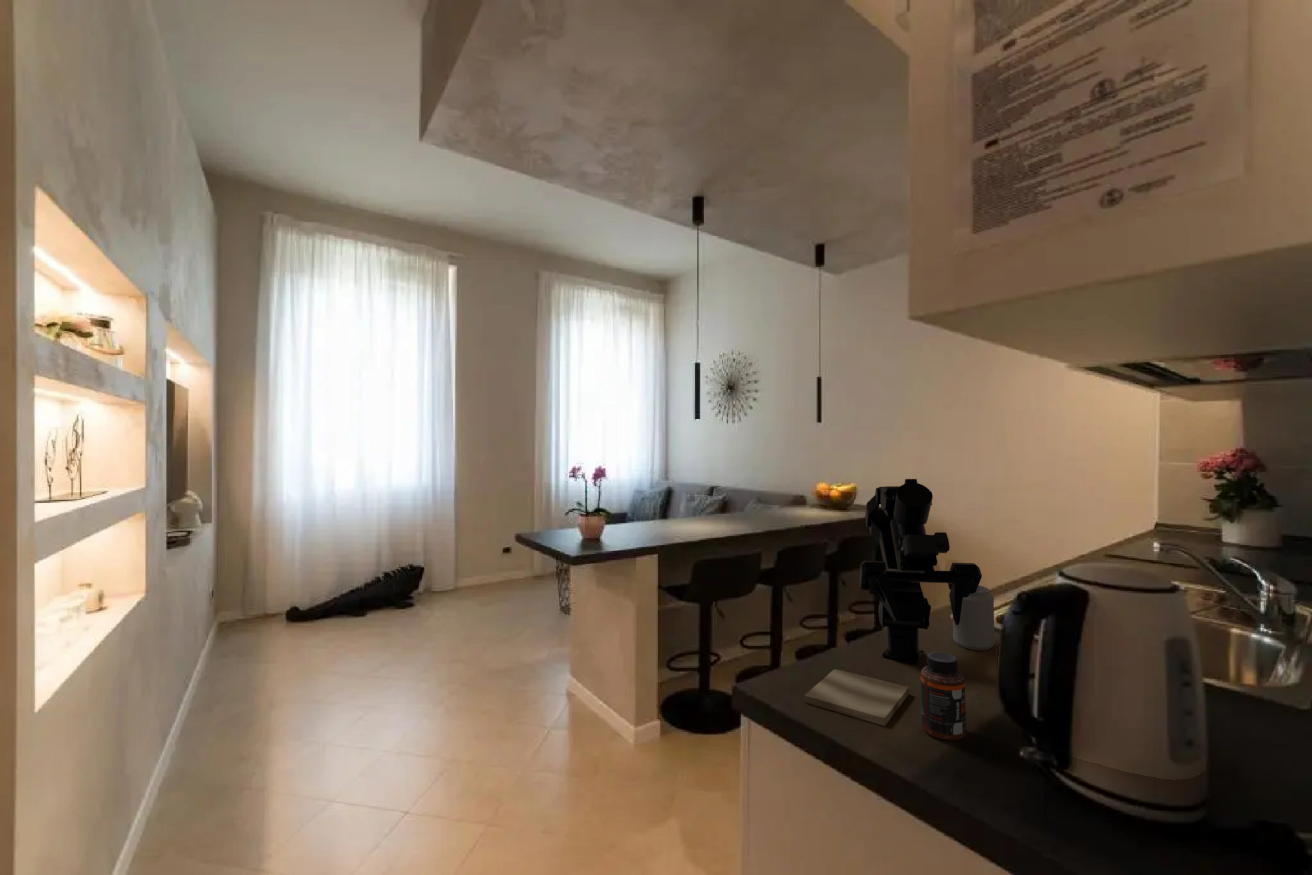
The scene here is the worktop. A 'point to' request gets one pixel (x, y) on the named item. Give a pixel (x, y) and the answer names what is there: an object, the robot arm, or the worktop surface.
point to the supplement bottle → (943, 697)
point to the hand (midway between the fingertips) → (926, 622)
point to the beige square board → (858, 696)
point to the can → (976, 621)
